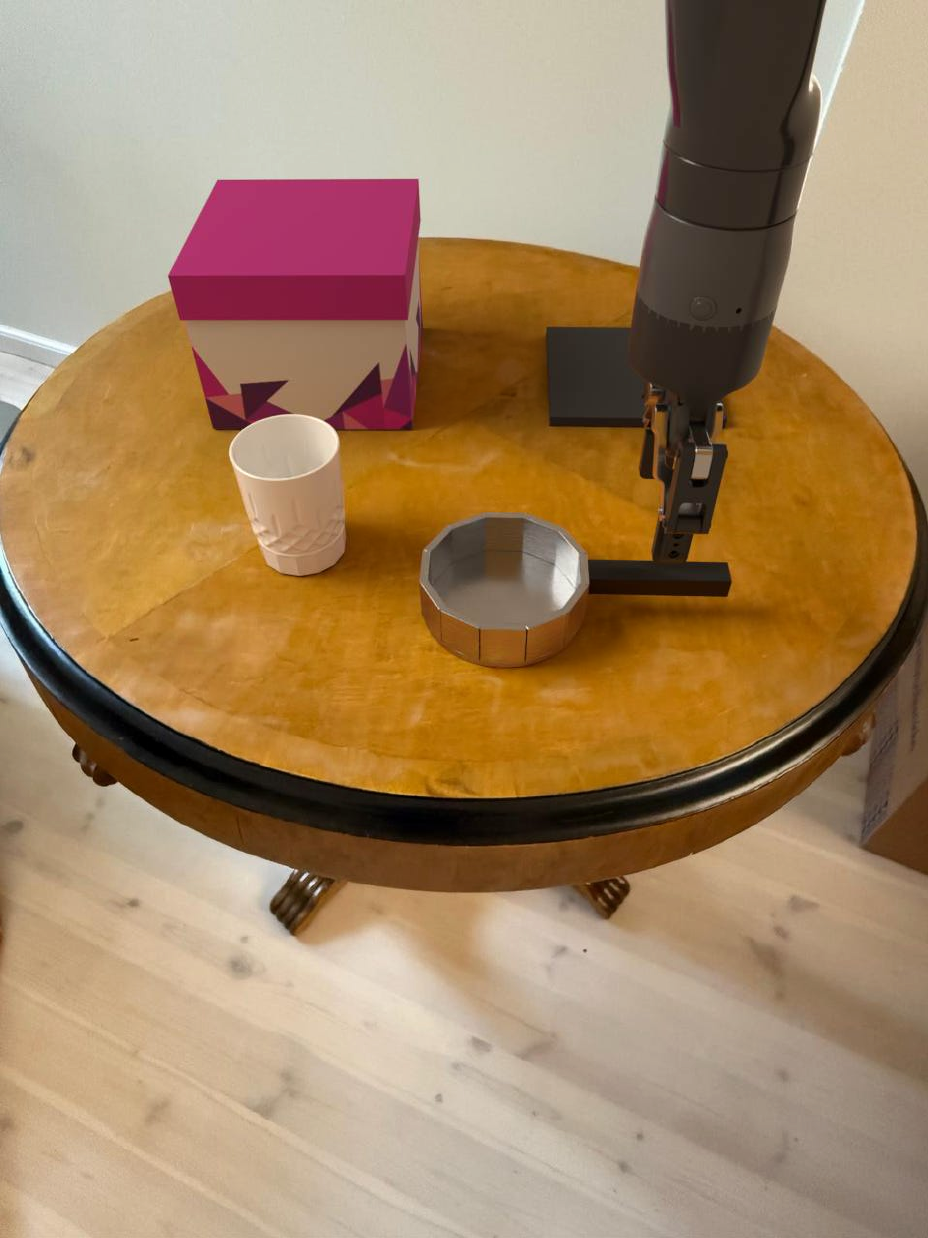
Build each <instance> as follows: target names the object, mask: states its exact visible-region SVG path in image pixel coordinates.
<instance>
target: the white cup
mask: <svg viewBox="0 0 928 1238" xmlns="http://www.w3.org/2000/svg"><path fill="white" fill-rule="evenodd" d="M228 450H229V451H228V456H229V460H230V463H231V466H232V469H233V472H234V477H235V478H236V482H237V485H238V488H239V492H240V495H241V499H242V502H243V505H244V508H245V511H246V514H247V517H248V520H249V523H250V525H251V528H252V530H253V531H252V532H253V534H254V536H255V537H256V539H257V544H258V545H259V546H258V547H259V550H260V553H261V554H262V557H263V558H264V562H265V564H266V565H267V566H269V567H270V568H272V569H273V570H275V571H277V572H279V573H280V574H282V575H283V574H284V575H290V576H295V577H297V576H298V577H302V576H310V575H314V574H315V575H316V574H319V573H321V572H323V571H325V570H327V569H329V568H330V567H333V566H334V565H335V564H337V562H338V561H339V560H340V559H341V558H342V556H343V555H344V554H345V552H346V543H347V533H346V523H345V522H346V506H345V489H344V478H343V477H344V476H343V467H342V455H341V454H342V453H341V442H340V437H339V434H338V432H337V431H336V429H334V428H333V427H332V426H331V425H329V424H328V423H326V422H325V421H323V420H321V419H318V418H315V417H312V416H307V415H300V414H285V415H277V416H272V417H268V418H265V419H262V420H259V421H257V422H255V423H253V424H251V425H249V426H247V427H246V428H244V429H241V431H239V432H238V433H237V434H236V435H235V437H233V440H232V441H231V442H230V445H229V449H228Z"/></svg>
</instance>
